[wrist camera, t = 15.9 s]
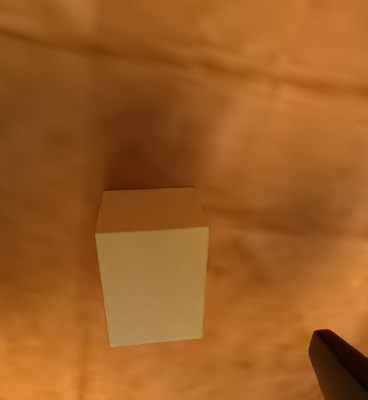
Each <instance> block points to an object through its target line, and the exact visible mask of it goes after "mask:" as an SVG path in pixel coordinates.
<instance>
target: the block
mask: <svg viewBox="0 0 368 400" xmlns="http://www.w3.org/2000/svg"><path fill="white" fill-rule="evenodd" d="M95 241H96V249H97V257H98V264H99V272H100V279H101V287H102V295H103V302H104V310H105V317H106V325H107V333H108V340H109V347H121V346H130V345H140V344H150V343H160V342H169V341H179V340H189V339H198V338H203V326H204V310H205V293H206V277H207V260H208V244H209V224H208V222H207V219H206V217H205V214H204V212H203V209H202V207H201V204H200V201H199V199H198V196H197V194H196V191H195V189H194V187H186V188H162V189H138V190H114V191H104V192H103V196H102V200H101V205H100V210H99V215H98V219H97V224H96V229H95Z"/></svg>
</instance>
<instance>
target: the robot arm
mask: <svg viewBox="0 0 368 400" xmlns="http://www.w3.org/2000/svg"><path fill="white" fill-rule="evenodd" d="M309 357H310V360H311V363H312V366H313V368H314V371H315V374H316V377H317V379H318V382H319V385H320V388H321V390H322V393H323V396H324V398H325V400H368V358H367V357H366V356H364V355H363V354H362V353H360V352H359V351H358V350H356V349H355V348H354V347H352V346H351V345H350V344H349V343H347V342H346V341H345V340H343V339H342V338H341V337H339V336H338V335H337V334H335V333H334V332H333V331H331V330H329V329H320V330H315V331H314V332H313V335H312V339H311V342H310V346H309Z"/></svg>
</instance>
